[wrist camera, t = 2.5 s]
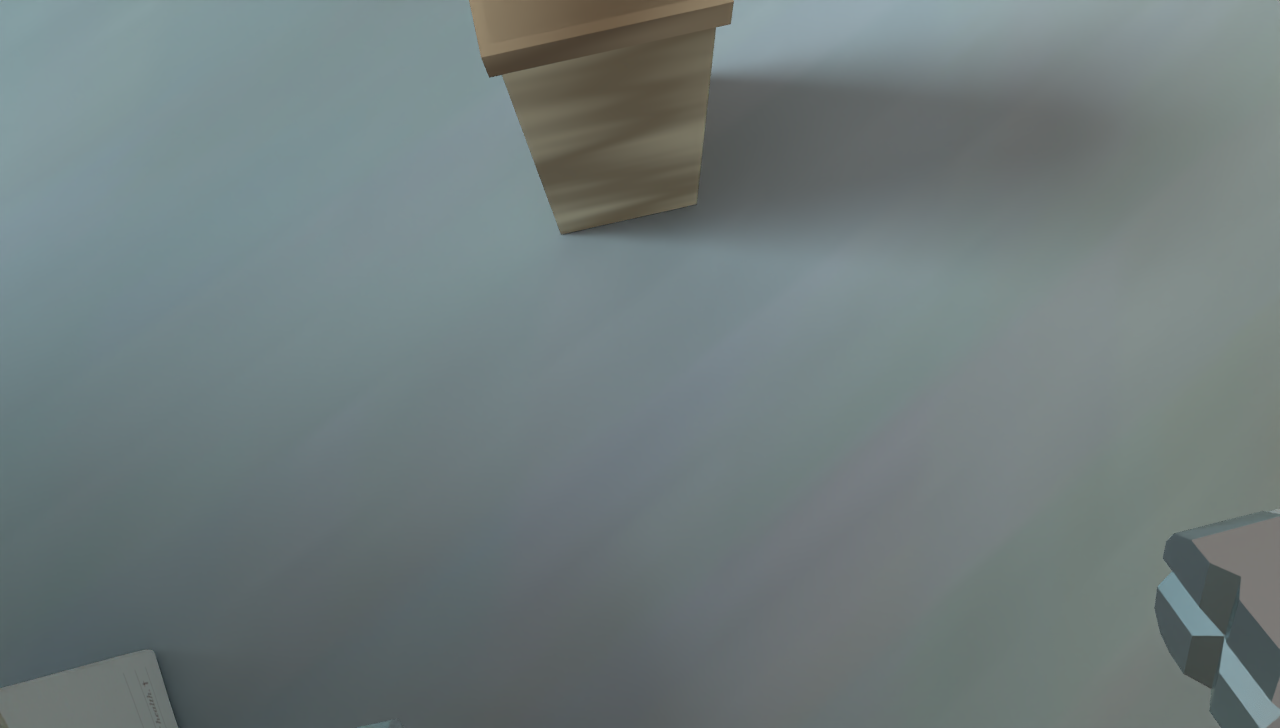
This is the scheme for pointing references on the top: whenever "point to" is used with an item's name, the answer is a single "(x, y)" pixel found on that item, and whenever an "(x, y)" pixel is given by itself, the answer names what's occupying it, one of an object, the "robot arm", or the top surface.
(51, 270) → the top surface
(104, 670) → the supplement box
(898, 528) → the top surface
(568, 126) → the peg
